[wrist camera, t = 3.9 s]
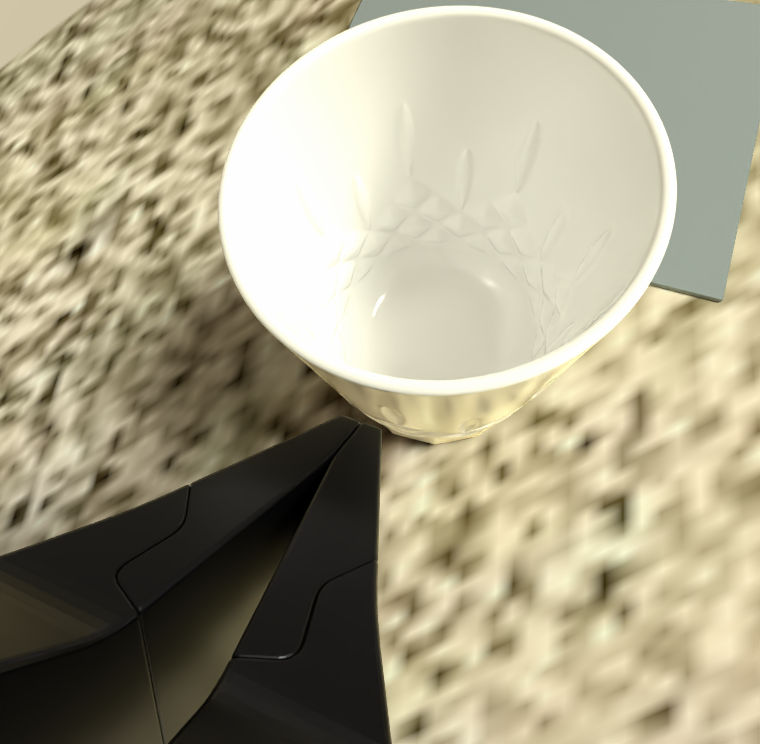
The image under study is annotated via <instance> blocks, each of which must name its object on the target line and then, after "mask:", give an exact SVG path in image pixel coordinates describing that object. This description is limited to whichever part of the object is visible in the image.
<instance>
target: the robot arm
mask: <svg viewBox="0 0 760 744" xmlns="http://www.w3.org/2000/svg"><path fill="white" fill-rule="evenodd" d="M381 446H382V430H381V429H380V428H378V427H376V426H373V425H370V424H367V423H362V424H361V423H360V421H358V420H355V419H352V418H350V417H347V416H338V417H336V418H334V419H332V420H330V421H327V422H325V423H323V424H321V425H319V426H316V427H314V428H312V429H310V430H308V431H305V432H303V433H301V434H299V435H297V436H294V437H292V438H290V439H288V440H286V441H283V442H281V443H279V444H277V445H274V446H272V447H270V448H268V449H266V450H263V451H261V452H259V453H257V454H255V455H252V456H250V457H248V458H246V459H244V460H241V461H239V462H237V463H235V464H233V465H230V466H228V467H226V468H224V469H222V470H219V471H217V472H215V473H213V474H210V475H208V476H206V477H204V478H202V479H199V480H197V481H195V482H193V483H192V484H191V487H190V486H189V485H186V486H184V487H181V488H179V489H177V490H175V491H173V492H170V493H168V494H166V495H164V496H161V497H159V498H156V499H154V500H152V501H149V502H147V503H145V504H142V505H140V506H138V507H135V508H132V509H130V510H127V511H125V512H122V513H119V514H117V515H114V516H111V517H109V518H106V519H103V520H101V521H98V522H95V523H92V524H90V525H87V526H84V527H81V528H78V529H76V530H73V531H70V532H67V533H64V534H62V535H59V536H56V537H53V538H50V539H48V540H45V541H42V542H39V543H36V544H33V545H31V546H28V547H25V548H22V549H19V550H17V551H14V552H11V553H8V554H4V555H1V556H0V744H392V741H391V734H390V725H389V717H388V708H387V700H386V691H385V683H384V674H383V665H382V657H381V648H380V637H379V625H378V607H377V578H378V563H377V561H378V540H379V509H380V477H381Z"/></svg>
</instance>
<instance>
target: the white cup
mask: <svg viewBox="0 0 760 744" xmlns="http://www.w3.org/2000/svg"><path fill="white" fill-rule="evenodd" d="M676 201H677V181H676V170H675V163H674V158H673V153H672V149H671V145H670V142H669V139H668V136H667V133H666V130H665V128H664V126H663V123H662V121H661V119H660V117H659V115H658V113H657V111H656V109H655V108H654V106H653V104H652V102H651V101H650V99H649V98H648V96H647V95H646V93H645V92H644V91H643V89H642V88H641V87H640V85H639V84H638V83H637V82H636V81H635V79H634V78H633V77H632V76H631V75H630V74H629V73H628V72H627V71H626V70H625V69H624V68H623V67H622V66H621V65H620V64H619V63H618V62H617V61H616V60H614V59H613V58H612V57H611V56H610V55H608V54H607V53H606V52H604V51H603V50H602V49H600V48H599V47H597V46H596V45H595V44H593V43H591V42H590V41H588V40H587V39H585V38H583V37H581V36H580V35H578V34H576V33H574V32H572V31H570V30H568V29H566V28H564V27H561V26H559V25H557V24H554V23H552V22H549V21H547V20H544V19H541V18H538V17H535V16H531V15H528V14H524V13H520V12H515V11H511V10H505V9H499V8H492V7H482V6H437V7H427V8H420V9H414V10H408V11H403V12H399V13H394V14H390V15H387V16H383V17H380V18H377V19H374V20H371V21H368V22H365V23H362V24H360V25H357V26H355V27H353V28H350V29H348V30H346V31H344V32H342V33H340V34H338V35H336V36H334V37H332V38H330V39H328V40H326V41H325V42H323V43H321V44H320V45H318V46H316V47H315V48H313V49H312V50H310V51H309V52H307V53H306V54H305V55H303V56H302V57H301V58H299V59H298V60H297V61H295V62H294V63H293V64H292V65H290V66H289V67H288V68H287V69H286V70H285V71H284V72H283V73H281V74H280V75H279V76H278V77H277V78H276V79H275V80H274V81H273V82H272V83H271V84H270V86H269V87H268V88H267V89H266V90H265V91H264V92H263V94H262V95H261V96H260V97H259V99H258V100H257V101H256V102H255V104H254V105H253V107H252V108H251V109H250V111H249V112H248V114H247V116H246V117H245V119H244V120H243V122H242V124H241V126H240V127H239V129H238V131H237V133H236V135H235V137H234V140H233V142H232V144H231V147H230V149H229V152H228V155H227V158H226V161H225V164H224V168H223V172H222V176H221V182H220V188H219V197H218V225H219V234H220V240H221V245H222V249H223V253H224V257H225V260H226V263H227V266H228V269H229V272H230V274H231V276H232V279H233V281H234V283H235V285H236V287H237V289H238V291H239V293H240V294H241V296H242V298H243V299H244V301H245V303H246V304H247V306H248V307H249V308H250V310H251V311H252V312H253V314H254V315H255V316H256V318H257V319H258V320H259V321H260V322H261V323H262V325H263V326H264V327H265V328H266V329H267V330H268V331H269V332H270V333H271V334H272V335H273V336H274V337H275V338H276V339H277V340H279V341H280V342H281V343H282V344H283V345H284V346H285V347H287V348H288V349H289V350H290V351H291V352H292V353H294V354H295V355H296V356H297V357H298V358H299V359H300V360H302V361H303V362H304V363H305V364H306V365H307V366H308V367H310V368H311V369H312V370H313V371H314V372H315V373H316V374H317V375H319V376H320V377H321V378H322V379H323V380H324V381H325V382H326V383H327V384H329V385H330V386H331V387H332V388H333V389H335V390H336V391H337V392H338V393H339V394H340V395H341V396H342V397H344V398H345V399H346V400H347V401H348V402H349V403H350V404H351V405H353V406H354V407H355V408H357V409H358V410H360V411H361V412H363V413H364V414H365V415H366V416H368V417H369V418H371V419H372V420H374V421H376V422H378V423H379V424H382V425H384V426H385V427H386V428H387V429H388V430H389V431H391V432H392V433H393V434H396V435H400V436H404V437H408V438H412V439H415V440H419V441H423V442H427V443H431V444H441V443H446V442H451V441H456V440H461V439H466V438H472V437H477V436H479V435H480V434H482V433H483V432H484V431H486V430H487V429H488V428H489V427H491V426H493V425H495V424H497V423H499V422H501V421H503V420H504V419H506V418H507V417H509V416H510V415H512V414H513V413H514V412H515V411H517V410H518V409H520V408H521V407H523V406H524V405H525V404H526V403H528V402H529V401H530V400H532V399H533V398H534V397H536V396H537V395H538V394H539V393H541V392H542V391H543V390H544V389H545V388H546V387H547V386H548V385H550V384H551V383H552V382H553V381H554V380H555V379H556V378H557V377H558V376H560V375H561V374H562V373H563V372H564V371H565V370H566V369H567V368H568V367H570V366H571V365H572V364H573V363H574V362H575V361H576V360H577V359H579V358H580V357H581V356H582V355H583V354H584V353H585V352H586V351H588V350H589V349H590V348H591V347H592V346H593V345H595V344H596V343H597V342H598V341H599V340H600V339H601V338H603V337H604V336H605V335H606V334H607V333H608V332H610V331H611V330H612V329H613V328H614V327H615V326H616V325H617V324H618V323H619V322H620V321H621V320H622V319H623V318H624V317H625V316H626V315H627V313H628V312H629V311H630V310H631V309H632V308H633V306H634V305H635V304H636V303H637V301H638V300H639V299H640V297H641V296H642V295H643V293H644V292H645V290H646V289H647V287H648V286H649V284H650V282H651V281H652V279H653V277H654V275H655V273H656V272H657V270H658V268H659V265H660V263H661V261H662V259H663V256H664V254H665V251H666V249H667V246H668V243H669V239H670V236H671V232H672V228H673V223H674V218H675V211H676Z"/></svg>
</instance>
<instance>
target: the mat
mask: <svg viewBox="0 0 760 744" xmlns="http://www.w3.org/2000/svg"><path fill="white" fill-rule="evenodd" d="M437 6H482V7H492V8H499V9H505V10H511V11H515V12H520V13H524V14H528V15H531V16H535V17H538V18H541V19H544V20H547V21H549V22H552V23H554V24H557V25H559V26H561V27H564V28H566V29H568V30H570V31H572V32H574V33H576V34H578V35H580V36H581V37H583V38H585V39H587V40H588V41H590V42H591V43H593V44H595V45H596V46H597V47H599V48H600V49H602V50H603V51H604V52H606V53H607V54H608V55H610V56H611V57H612V58H613V59H614V60H616V61H617V62H618V63H619V64H620V65H621V66H622V67H623V68H624V69H625V70H626V71H627V72H628V73H629V74H630V75H631V76H632V77H633V78H634V79H635V81H636V82H637V83H638V84H639V85H640V87H641V88H642V89H643V91H644V92H645V93H646V95H647V96H648V98H649V99H650V101H651V102H652V104H653V106H654V108H655V109H656V111H657V113H658V115H659V117H660V119H661V121H662V123H663V126H664V128H665V130H666V133H667V136H668V139H669V142H670V145H671V149H672V153H673V158H674V163H675V170H676V181H677V201H676V211H675V218H674V223H673V228H672V232H671V236H670V239H669V243H668V246H667V249H666V251H665V254H664V256H663V259H662V261H661V263H660V265H659V268H658V270H657V272H656V273H655V275H654V277H653V279H652V281H651V282H650V284H649V285H653V286H657V287H661V288H665V289H669V290H673V291H677V292H681V293H685V294H689V295H693V296H697V297H701V298H705V299H709V300H713V301H717V302H721V301H722V300H723V297H724V292H725V287H726V282H727V277H728V272H729V268H730V263H731V258H732V253H733V248H734V243H735V238H736V234H737V229H738V224H739V219H740V214H741V209H742V205H743V200H744V195H745V190H746V185H747V180H748V175H749V171H750V166H751V161H752V156H753V151H754V146H755V141H756V137H757V132H758V127H759V122H760V5H759V4H751V3H744V2H736V1H729V0H362V1H361V4H360V6H359V8H358V10H357V12H356V14H355V16H354V18H353V20H352V22H351V25H350V27H349V29H350V28H353V27H355V26H357V25H360V24H362V23H365V22H368V21H371V20H374V19H377V18H380V17H383V16H387V15H390V14H394V13H399V12H403V11H408V10H414V9H420V8H427V7H437Z"/></svg>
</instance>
